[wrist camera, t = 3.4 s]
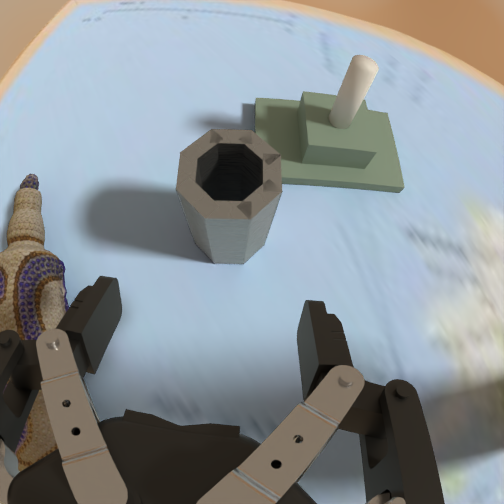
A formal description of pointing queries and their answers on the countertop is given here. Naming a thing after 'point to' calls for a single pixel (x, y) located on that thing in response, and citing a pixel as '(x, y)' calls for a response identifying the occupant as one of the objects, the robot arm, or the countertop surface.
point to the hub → (229, 193)
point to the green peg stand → (333, 136)
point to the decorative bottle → (31, 303)
